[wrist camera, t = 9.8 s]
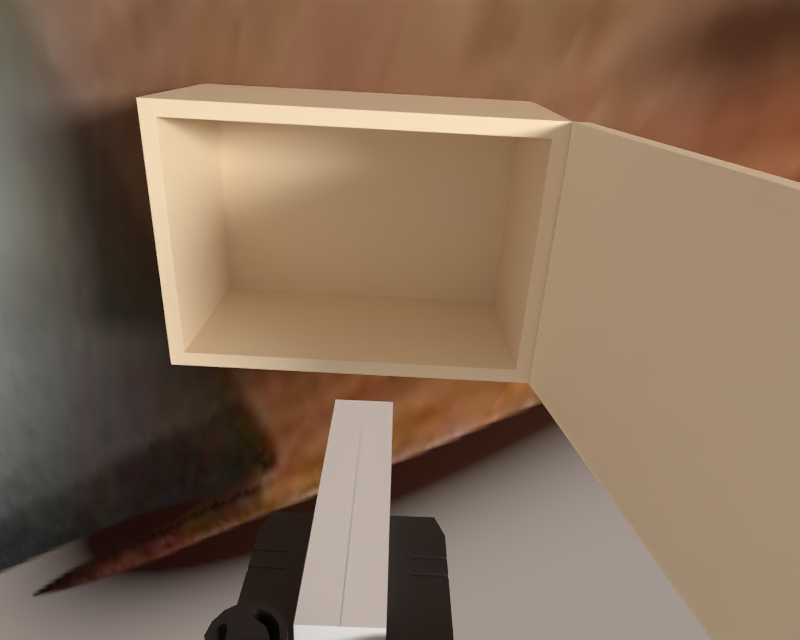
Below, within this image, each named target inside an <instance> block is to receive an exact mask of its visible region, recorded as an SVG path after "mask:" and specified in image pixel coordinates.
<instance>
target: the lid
mask: <svg viewBox="0 0 800 640" xmlns="http://www.w3.org/2000/svg"><path fill="white" fill-rule="evenodd" d="M529 385H530V386H531V388H532V389H533V390H534V392H535V393H536V395H537V396H538V397H539V399H540V400H541V402H542V403H543V404H544V406H545V407H546V409H547V410H548V411H549V413H550V414H551V416H552V417H553V418H554V420H555V421H556V423H557V424H558V425H559V427H560V428H561V430H562V431H563V432H564V434H565V435H566V437H567V438H568V439H569V441H570V442H571V444H572V445H573V446H574V448H575V449H576V451H577V452H578V453H579V455H580V456H581V457H582V459H583V460H584V462H585V463H586V465H587V466H588V467H589V469H590V470H591V471H592V473H593V474H594V476H595V477H596V479H597V480H598V481H599V483H600V484H601V486H602V487H603V488H604V490H605V491H606V493H607V494H608V495H609V497H610V498H611V500H612V501H613V502H614V504H615V505H616V507H617V508H618V509H619V511H620V512H621V514H622V515H623V517H624V518H625V519H626V521H627V522H628V523H629V525H630V526H631V528H632V529H633V531H634V532H635V533H636V535H637V536H638V537H639V539H640V540H641V542H642V543H643V545H644V546H645V547H646V549H647V550H648V552H649V553H650V554H651V556H652V557H653V559H654V560H655V561H656V563H657V564H658V565H659V567H660V568H661V570H662V571H663V573H664V574H665V575H666V577H667V578H668V579H669V581H670V582H671V583H672V585H673V587H674V588H675V589H676V591H677V592H678V594H679V595H680V596H681V598H682V599H683V601H684V602H685V603H686V605H687V606H688V607H689V609H690V610H691V612H692V613H693V614H694V616H695V617H696V619H697V620H698V622H699V623H700V624H701V626H702V627H703V629H704V630H705V631H706V633H707V634H708V636H709V637H710V638H711V640H800V183H799V182H796V181H792V180H789V179H785V178H782V177H778V176H775V175H771V174H768V173H764V172H761V171H757V170H754V169H750V168H747V167H743V166H740V165H736V164H733V163H729V162H726V161H722V160H719V159H715V158H712V157H708V156H705V155H701V154H698V153H694V152H691V151H687V150H684V149H680V148H677V147H673V146H670V145H666V144H663V143H659V142H656V141H652V140H649V139H645V138H642V137H638V136H635V135H631V134H628V133H624V132H621V131H617V130H614V129H610V128H607V127H603V126H600V125H596V124H593V123H589V122H573V125H572V131H571V137H570V143H569V149H568V155H567V161H566V167H565V173H564V179H563V185H562V190H561V196H560V202H559V208H558V214H557V220H556V226H555V232H554V238H553V244H552V250H551V256H550V262H549V268H548V274H547V280H546V285H545V291H544V297H543V303H542V309H541V315H540V321H539V327H538V333H537V339H536V345H535V351H534V357H533V363H532V369H531V375H530V381H529Z"/></svg>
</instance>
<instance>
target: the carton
mask: <svg viewBox="0 0 800 640" xmlns="http://www.w3.org/2000/svg"><path fill="white" fill-rule="evenodd" d="M136 100H137V107H138V115H139V123H140V130H141V138H142V146H143V153H144V161H145V168H146V176H147V184H148V191H149V199H150V206H151V214H152V222H153V229H154V237H155V245H156V252H157V260H158V267H159V275H160V283H161V290H162V298H163V306H164V313H165V321H166V328H167V336H168V344H169V351H170V359H171V364H173V365H193V366H212V367H231V368H250V369H269V370H288V371H308V372H327V373H346V374H365V375H384V376H403V377H423V378H442V379H461V380H480V381H499V382H518V383H529V378H530V372H531V366H532V360H533V354H534V348H535V342H536V336H537V330H538V324H539V318H540V312H541V306H542V300H543V294H544V288H545V282H546V276H547V270H548V265H549V259H550V253H551V247H552V241H553V235H554V229H555V223H556V217H557V211H558V205H559V199H560V193H561V187H562V181H563V175H564V169H565V163H566V157H567V151H568V145H569V140H570V134H571V128H572V121H570V120H568V119H566V118H564V117H562V116H560V115H558V114H556V113H554V112H552V111H550V110H548V109H546V108H544V107H542V106H540V105H538V104H536V103H534V102H530V101H512V100H494V99H476V98H458V97H440V96H422V95H404V94H386V93H368V92H351V91H333V90H315V89H297V88H279V87H261V86H243V85H225V84H207V83H204V84H199V85H195V86H190V87H185V88H180V89H175V90H170V91H165V92H160V93H155V94H151V95H146V96H141V97H136Z"/></svg>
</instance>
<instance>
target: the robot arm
mask: <svg viewBox="0 0 800 640" xmlns="http://www.w3.org/2000/svg"><path fill="white" fill-rule="evenodd" d="M392 418H393V402H377V401H356V400H336V401H335V406H334V412H333V417H332V422H331V428H330V433H329V438H328V444H327V449H326V454H325V460H324V465H323V470H322V476H321V481H320V486H319V492H318V497H317V503H316V508H315V513H314V514H304V513H282V512H274V513H273V514H272V515H271V516H270V517H269V519H268V520H267V521H266V522H265V523H264V524H263V526H262V527H261V528H260V529H259V532H258V536H257V539H256V542H255V546H254V549H253V554H252V556H251V559H250V563H249V566H248V571H247V573H246V577H245V580H244V583H243V587H242V590H241V593H240V597H239V600H238V604H237V605H235V606H233V607H231V608H228V609H226V610H224V611H223V612H222V613H221V614H220V615H219V616H218V617H217V618H216V619H214V620H213V621H212V623H211V624H210V626H209V628H208V630H207V632H206V633H205V635H204V637H205V640H453V627H452V616H451V603H450V591H449V579H448V568H447V560H446V559H447V558H446V544H445V535H444V534H443V532H442V530H441V528H440V527H439V525H438V523H437V522H436V520H435V518H432V517H408V516H390V487H391V453H392Z"/></svg>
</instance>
